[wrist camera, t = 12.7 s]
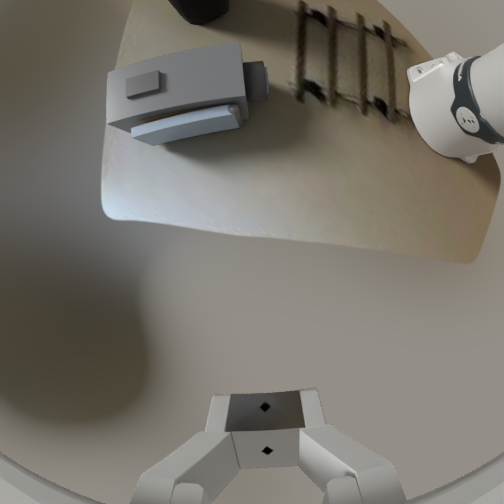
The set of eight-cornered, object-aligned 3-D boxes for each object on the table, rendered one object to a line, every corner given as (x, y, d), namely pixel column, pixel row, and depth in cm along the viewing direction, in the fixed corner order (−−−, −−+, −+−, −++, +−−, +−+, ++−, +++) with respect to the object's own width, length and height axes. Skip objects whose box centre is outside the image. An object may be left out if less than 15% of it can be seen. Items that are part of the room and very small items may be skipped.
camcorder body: (264, 73, 34) (264, 36, 23) (269, 117, 35) (271, 91, 25) (138, 94, 35) (104, 70, 24) (140, 137, 36) (103, 122, 26)
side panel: (242, 118, 34) (238, 102, 27) (243, 127, 34) (239, 112, 27) (152, 137, 35) (130, 127, 28) (153, 145, 35) (131, 137, 28)
